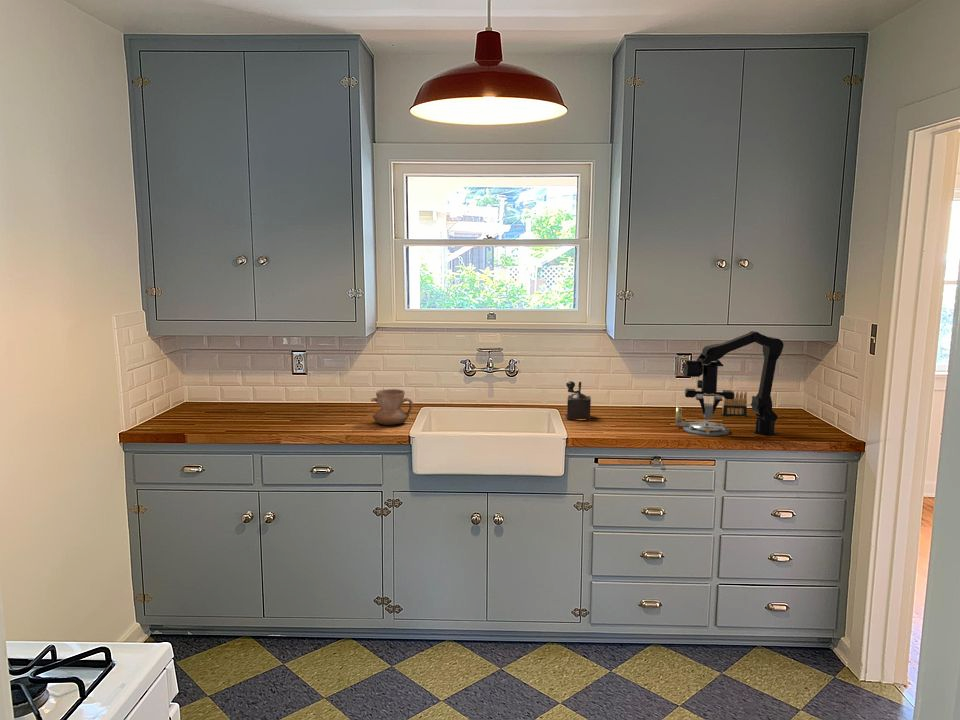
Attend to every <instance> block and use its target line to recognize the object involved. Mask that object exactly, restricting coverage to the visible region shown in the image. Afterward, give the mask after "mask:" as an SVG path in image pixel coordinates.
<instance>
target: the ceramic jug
mask: <svg viewBox="0 0 960 720" xmlns="http://www.w3.org/2000/svg"><path fill="white" fill-rule="evenodd" d="M405 393H406V391H405V390H404V389H399V388H398V389H397V388H388V389H386V388H385V389H381V390H377V391H376V392H375V396H376V397H372V398H370V402H375V403H377V404H379V406H380V409H379V410H377V411H376V412H375V413H373V414H372V418H373V420H374V421H375V423H377V424H380V425H382V424H383V426H397V425H400V424H403V423H405V422H406V421H407V420H408V418H409V417H410V413H411V412H412V410H413V407H414V402H413V400H412V398H409V397H405ZM404 397H405V398H404ZM405 402H408V403H409V408H408V410H407V412H406V411H405V410H403V409H402V408H401V407H402V405H403V404H404V403H405ZM396 424H397V425H396Z"/></svg>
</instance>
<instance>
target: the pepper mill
mask: <svg viewBox="0 0 960 720" xmlns="http://www.w3.org/2000/svg"><path fill="white" fill-rule="evenodd" d="M565 386H566V387H567V392H568V393H571V394H570V395H567V406H566V408H567V409H566V414H565V418H566V417H567V418H566V420H568V419H586V420H591V407H592V406H591V405H592V404H591V402H592V400H591V399H592V398H591V396H590V395H586V394H584V393H581V392H582V391H581V390H582V381H578V385H577V387H578V389H577V390H574V388H575V387H576V383H575V382H574V381H571V380H570V381H568V382H566V384H565Z"/></svg>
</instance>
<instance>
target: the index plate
mask: <svg viewBox="0 0 960 720" xmlns="http://www.w3.org/2000/svg"><path fill="white" fill-rule="evenodd" d="M723 428H725V431H716V432H705V431H699V430H695V429H689V426H683V431H684V432H685V433H688V434H692V435H694V436H695V435H696V436H700V437H701V436H703V437H721V436H720V435H724V436H727V435H729V434H730V429H729V428H727V427H725V426H723Z"/></svg>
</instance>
